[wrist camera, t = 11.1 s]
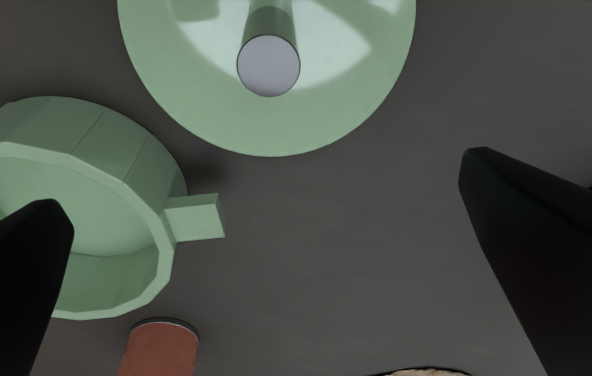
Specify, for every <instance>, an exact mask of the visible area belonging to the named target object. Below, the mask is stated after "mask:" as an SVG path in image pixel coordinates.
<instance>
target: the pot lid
mask: <svg viewBox="0 0 592 376" xmlns="http://www.w3.org/2000/svg"><path fill="white" fill-rule="evenodd" d="M117 9H118V16H119V22H120V28H121V32H122V35H123V39H124V42H125V46H126V49H127V52H128V54H129V56H130V59H131V61H132V63H133V66H134V68H135V70H136V72H137V73H138V75H139V77H140V79H141V80H142V82H143V84H144V85H145V87H146V88H147V90H148V91H149V92H150V94H151V95H152V96H153V98H154V99H155V100H156V102H157V103H158V104H159V105H160V106H161V107H162V108H163V109H164V110H165V111H166V112H167V113H168V114H169V115H170V116H171V117H172V118H173V119H174V120H176V121H177V122H178V123H179V124H180V125H181V126H183V127H184V128H186V129H187V130H189V131H190V132H192V133H193V134H194V135H196V136H198V137H200V138H202V139H204V140H205V141H207V142H209V143H211V144H214V145H216V146H219V147H221V148H224V149H227V150H230V151H234V152H237V153H242V154H247V155H253V156H266V157H276V156H289V155H295V154H301V153H305V152H309V151H312V150H316V149H318V148H321V147H323V146H326V145H328V144H331V143H333V142H334V141H336V140H338V139H340V138H342V137H344V136H345V135H347V134H348V133H350V132H351V131H352V130H354V129H355V128H357V127H358V126H359V125H360V124H361V123H363V122H364V121H365V120H366V119H367V118H368V117H369V116H370V115H371V114H372V113H373V112H374V111H375V110H376V109H377V108H378V107H379V105H380V104H381V103H382V102H383V100H384V99H385V98H386V96H387V95H388V93H389V92H390V91H391V89H392V87H393V86H394V84H395V82H396V80H397V78H398V76H399V75H400V73H401V70H402V68H403V65H404V63H405V60H406V58H407V55H408V52H409V48H410V45H411V41H412V37H413V31H414V24H415V17H416V0H117Z"/></svg>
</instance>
